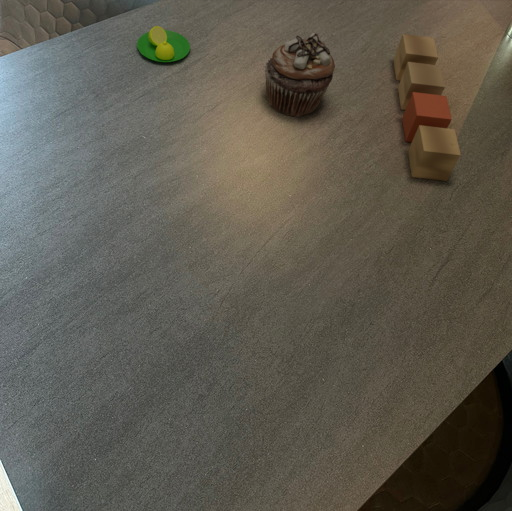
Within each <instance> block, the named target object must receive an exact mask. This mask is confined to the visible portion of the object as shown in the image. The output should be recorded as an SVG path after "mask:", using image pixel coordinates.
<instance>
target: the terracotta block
mask: <svg viewBox="0 0 512 511" xmlns="http://www.w3.org/2000/svg"><path fill="white" fill-rule="evenodd" d="M452 120H453V118H452V114H451V110H450V106H449V100H448V97H447V95H443V94H441V95H433V94H425V93H417V92H413V93H412V95H411V98H410V100H409V103H408V105H407V108H406V110H404V113H403V116H402V118H401V121H402V126H403V133H404V139H405V142H406V143H412V141H413V139H414V136H415V134H416V132H417V129H418V127H419V125H422V126H431V127H439V128H447V129H449V126H450V125H451V122H452Z"/></svg>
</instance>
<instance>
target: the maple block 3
mask: <svg viewBox="0 0 512 511" xmlns="http://www.w3.org/2000/svg"><path fill="white" fill-rule="evenodd" d="M407 155H408V162H409V168H410V174H411V178H417V179H427V180H435V181H443V182H444V181H445V182H447V181H448V180H449V178H450V176H451V174H452V172H453V170H454V168H455V167H456V165H457V163H458V162H459V159H460V157H461V151H460V145H459V142H458V137H457V132H456V129H455V128H439V127H431V126H422V125H419V127H418V129H417V132H416V134H415V136H414V139H413V141H412V142H410V145H409V147H408V150H407Z"/></svg>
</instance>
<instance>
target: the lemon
mask: <svg viewBox="0 0 512 511" xmlns="http://www.w3.org/2000/svg"><path fill="white" fill-rule="evenodd" d="M136 47H137V50H138V51H139V53H140V54H141V55H142V56H143V57H145V58H147V59H149V60H152V61H155V62H160V63H171V62H177V61H180V60H181V59H184V58H185V57H186V56H187V55H188V54H189V52H190V50H191V45H190V42H189V40H188V39H187V38H186V37H185V36H184V35H183V34H180V33H178V32H176V31H172V30H169V29H164V28H163V27H161V26H159V25H154V26H153V27H152V28H151V29H150V30H149V31H147V32H145V33H143V34H142V35H141V36H140V37H139V38H138V40H137V42H136Z"/></svg>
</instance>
